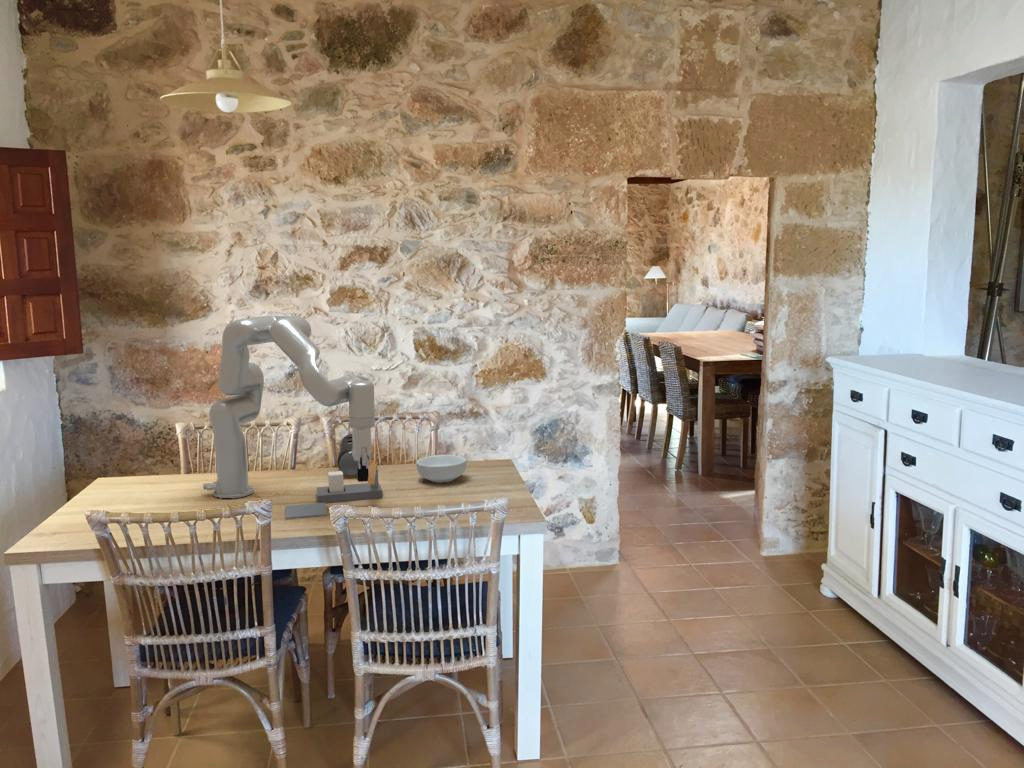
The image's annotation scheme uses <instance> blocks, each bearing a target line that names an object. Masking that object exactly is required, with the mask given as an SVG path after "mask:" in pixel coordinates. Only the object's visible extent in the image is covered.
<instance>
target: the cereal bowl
mask: <svg viewBox="0 0 1024 768" xmlns="http://www.w3.org/2000/svg"><path fill="white" fill-rule="evenodd" d="M416 468H417V473H418V474H419V476H421V477H422V478H423V479H425V480H427V481H428V480H429V481H430V482H431V481H432V483H434V482H436V483H435V484H443V483H442V482H447V483H450V481H451V482H453V481H454V480H455V479H457V478H459V477H461V476H462V475H463V474H464V473H465V470H466V469H467V458H466V457H464V456H460V455H454V454H436V455H429V456H425V457H421V458H419V459H417V461H416Z"/></svg>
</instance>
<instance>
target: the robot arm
mask: <svg viewBox="0 0 1024 768" xmlns="http://www.w3.org/2000/svg"><path fill="white" fill-rule="evenodd" d="M311 335H312V327H311V324H310V322H309V321H308V320H307V319H305V317H302V316H298V315H290V316H289V315H265V316H253V317H252V316H251V317H246V318H240V319H236V320H233V321H231V322H229V323H228V324H226V326H225V328H224V330H223V331H222V337H221V338H222V339H221V340H222V341H221V343H222V347H221V355H220V356H221V357H220V363H219V369H218V370H219V371H218V380H217V386H218V389H219V392H221V394H223V395H225V396H229V397H224V398H221V399H219V400H217V401H216V402H213V404H212V405H211V406H210V409H209V413H208V414H209V415H208V416H209V420H210V423H211V429H212V433H213V439H214V452H215V466H216V478H217V479H216V481H213V482H212V483H209V482H208V483H207V482H206V483H203V484H202V488H203V490H206V491H213V492H212V495H213V497H214V496H215V498H217V497H219V498H218V499H222V498H232V499H239V498H243V497H247V496H250V495H252V494H253V493H254V492H255V490H254V489H255V488H254V487H253V486H252V485H249V473H248V472H249V471H248V470H249V469H248V456H247V442H246V437H245V434H244V432H243V430H242V428H241V425H244V424H247V423H250V422H253V421H254V420H256V419H257V418H258V417H259V414H260V411H261V406H262V399H263V393H264V386H265V384H264V383H265V376H264V372H263V370H262V368H261V367H260V366H259V365H258V364H256V363H254V362H250V358H251V357H250V356H251V355H250V350H249V347H248V346H254V345H261V344H262V345H263V344H267V343H274V344H275V345H276V346H277V347H278V348H279V349H280V350H281V351H282V352H283V353H284V355H286V357H287V358H289V360H290V361H291V362H293V365H295V366H296V367H297V368H298V374H299V379H300V381H301V384H302V386H303V388H304V389H305V390H306V391H307V392H308V393H309V394H310V395H311V397H312V398H313V399H314V400H316V401H317V402H318V404H320V405H322V406H325V407H334V406H337V405H341V404H344V403H345V404H346V403H348V422H349V423H348V424H349V428H351V430H352V432H351V434H352V442H351V443H352V455H353V458H354V460H355V461H357V460H358V468H357V474H356V475H357V477H356V479H357V482H361V483H362V482H364V483H365V482H368V474H369V461H370V460H371V459H372V429H373V428H374V427H375V424H376V423H375V421H376V419H375V414H376V413H375V384H374V383H373V381H370V380H365V379H364V380H363V379H361V380H358V379H354V378H350V377H339V378H335V379H330V380H328V379H327V378H326V377H325V376H324V374H322V372H321V371H320V370H319V368H318V366H317V363H316V362H317V360H318V359H319V357H320V354H321V351H320V348H319V347H318V346H317V345H316V344H315V343H314V342H313V341H312V340H311V339H310V338H311Z"/></svg>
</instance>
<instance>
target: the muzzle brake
mask: <svg viewBox="0 0 1024 768" xmlns="http://www.w3.org/2000/svg"><path fill="white" fill-rule="evenodd" d="M339 444H340V445H339V453H338V457H337V467H338V469H339V471H342V472H343V475H344V474H345V475H347V476H355V475H357V468H358V460H357V461H355V460H354V458H353V455H352V433H351V434H350V433H349V434H347V435H345V436H343V438H342V439H341V441H340V443H339Z"/></svg>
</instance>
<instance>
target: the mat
mask: <svg viewBox="0 0 1024 768" xmlns="http://www.w3.org/2000/svg"><path fill="white" fill-rule="evenodd" d="M284 508H285V509H284V510H285V511H284V512H285V520H292V519H294V520H295V519H304V518H313V517H324V516H328V511H327V506H326V503H325V502H324V503H318V502H317V503H316V502H315V503H306V504H305V503H304V504H294V505H292V504H291V505H285V506H284Z"/></svg>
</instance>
